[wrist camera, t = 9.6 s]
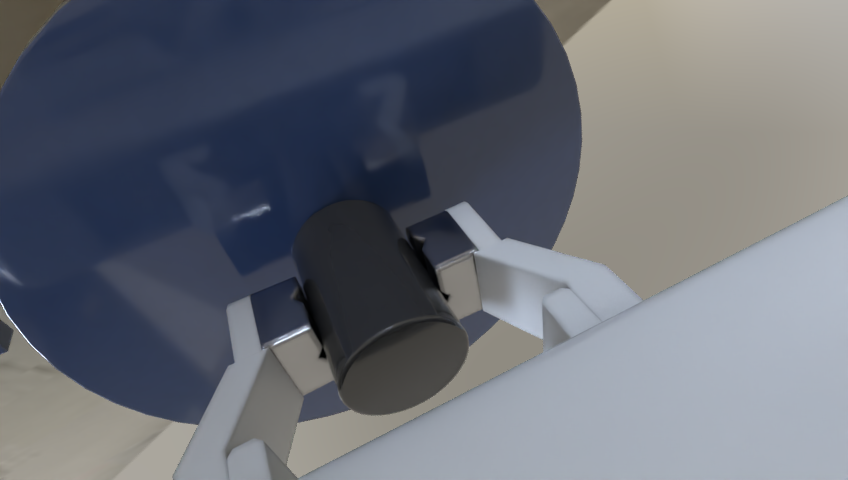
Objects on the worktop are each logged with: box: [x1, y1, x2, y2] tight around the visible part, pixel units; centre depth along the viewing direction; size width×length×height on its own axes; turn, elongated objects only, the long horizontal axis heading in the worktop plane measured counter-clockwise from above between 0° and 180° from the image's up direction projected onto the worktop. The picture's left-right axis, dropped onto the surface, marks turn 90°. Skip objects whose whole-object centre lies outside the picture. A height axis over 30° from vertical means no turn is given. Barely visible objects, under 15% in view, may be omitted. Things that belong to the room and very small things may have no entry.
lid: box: [0, 0, 582, 425], centre depth 11 cm, size 14×14×5 cm
